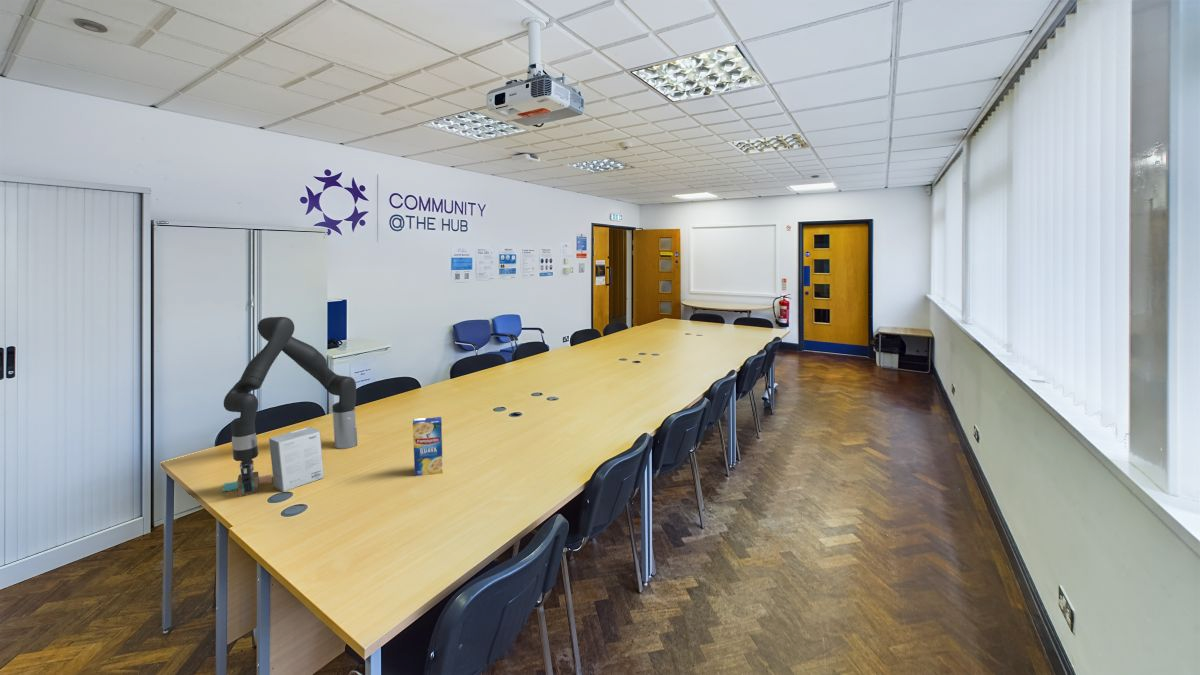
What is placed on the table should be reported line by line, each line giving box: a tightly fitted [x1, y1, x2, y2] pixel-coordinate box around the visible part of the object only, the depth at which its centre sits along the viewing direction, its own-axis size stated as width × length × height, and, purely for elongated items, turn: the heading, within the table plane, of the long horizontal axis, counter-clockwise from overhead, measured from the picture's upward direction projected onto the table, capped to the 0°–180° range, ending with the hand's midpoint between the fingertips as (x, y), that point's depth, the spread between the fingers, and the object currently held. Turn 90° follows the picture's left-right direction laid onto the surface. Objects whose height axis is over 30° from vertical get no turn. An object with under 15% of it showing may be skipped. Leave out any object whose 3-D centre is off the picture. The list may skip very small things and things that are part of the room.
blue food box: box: [412, 416, 444, 477], centre depth 203 cm, size 7×11×22 cm, turn 107°
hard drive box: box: [268, 426, 325, 492], centre depth 191 cm, size 16×8×20 cm, turn 145°
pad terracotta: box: [259, 474, 272, 486], centre depth 193 cm, size 7×7×1 cm
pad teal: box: [221, 480, 238, 493], centre depth 188 cm, size 7×7×1 cm
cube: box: [236, 471, 260, 497], centre depth 184 cm, size 6×6×6 cm
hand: (249, 488), depth 184 cm, fingers closed on cube, 6 cm apart
